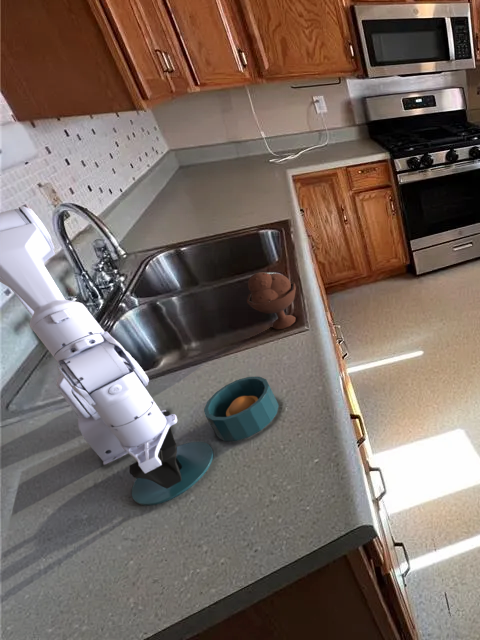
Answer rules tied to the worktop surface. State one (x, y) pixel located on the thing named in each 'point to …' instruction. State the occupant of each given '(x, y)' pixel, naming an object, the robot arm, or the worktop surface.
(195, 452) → the lid
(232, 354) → the worktop surface
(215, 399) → the pot
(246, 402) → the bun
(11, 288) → the robot arm
